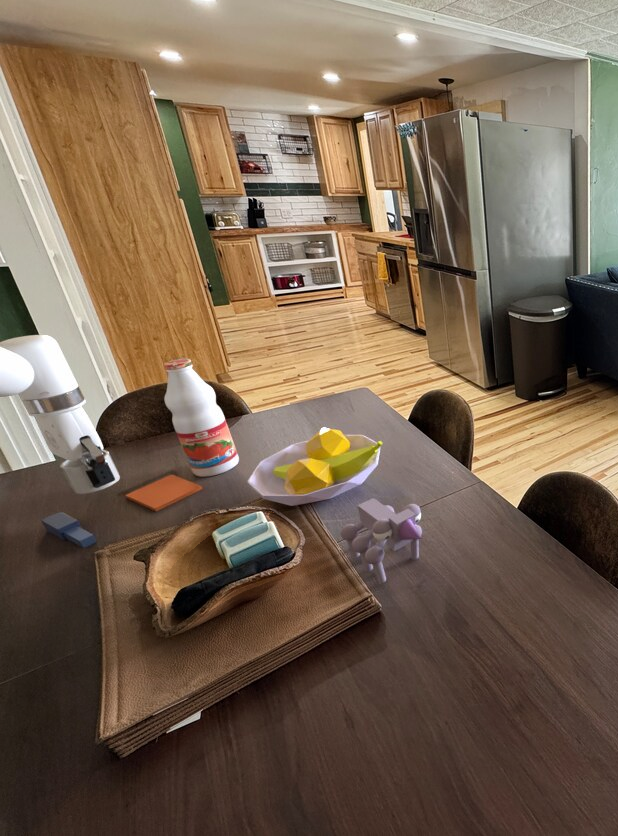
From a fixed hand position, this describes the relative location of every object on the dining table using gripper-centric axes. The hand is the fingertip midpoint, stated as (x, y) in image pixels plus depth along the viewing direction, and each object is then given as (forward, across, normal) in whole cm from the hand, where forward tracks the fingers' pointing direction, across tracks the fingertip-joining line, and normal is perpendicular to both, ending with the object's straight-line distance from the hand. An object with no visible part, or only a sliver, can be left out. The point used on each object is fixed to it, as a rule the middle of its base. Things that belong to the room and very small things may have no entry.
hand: (95, 479), depth 96 cm
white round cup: (+1, 0, 0) cm, 1 cm away
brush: (+10, 0, -6) cm, 11 cm away
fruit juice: (+10, -1, +21) cm, 23 cm away
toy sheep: (+10, +66, +14) cm, 68 cm away
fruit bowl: (+10, +31, +26) cm, 42 cm away
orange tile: (+10, 0, +9) cm, 13 cm away
